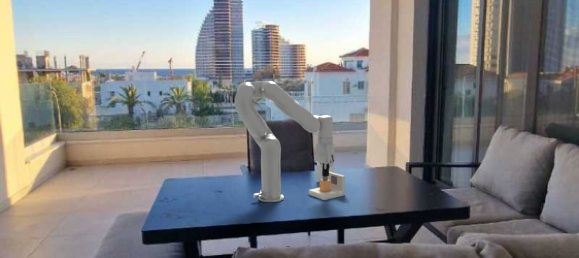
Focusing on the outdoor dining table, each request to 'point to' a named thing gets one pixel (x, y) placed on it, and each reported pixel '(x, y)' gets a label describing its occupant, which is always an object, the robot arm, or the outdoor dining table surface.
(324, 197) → the socket
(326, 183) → the plug
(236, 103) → the robot arm
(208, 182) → the outdoor dining table surface
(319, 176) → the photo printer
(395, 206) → the outdoor dining table surface
